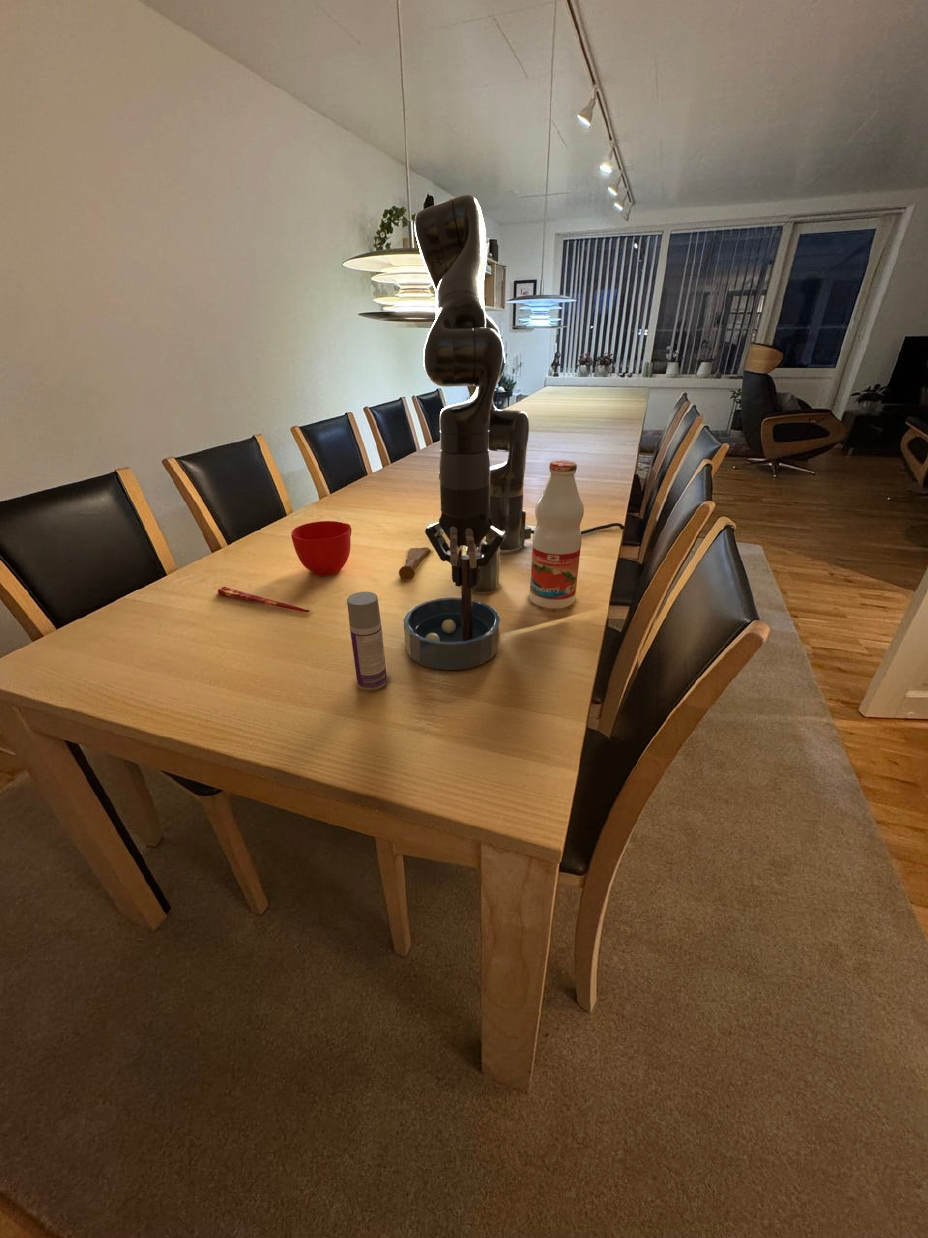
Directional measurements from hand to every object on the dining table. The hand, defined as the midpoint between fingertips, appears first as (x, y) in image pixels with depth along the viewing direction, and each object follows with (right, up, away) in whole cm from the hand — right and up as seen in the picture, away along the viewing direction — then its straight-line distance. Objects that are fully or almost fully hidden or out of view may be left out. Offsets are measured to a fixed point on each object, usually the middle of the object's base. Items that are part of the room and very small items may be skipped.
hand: (466, 585), depth 85 cm
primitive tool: (-13, +7, +39) cm, 42 cm away
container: (-15, -16, -3) cm, 22 cm away
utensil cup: (+4, +1, +27) cm, 28 cm away
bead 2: (-3, -7, +9) cm, 12 cm away
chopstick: (-42, -2, +22) cm, 47 cm away
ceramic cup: (-32, +6, +38) cm, 50 cm away
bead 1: (-6, -9, +4) cm, 12 cm away
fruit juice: (+18, -2, +22) cm, 28 cm away
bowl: (-2, -10, +6) cm, 12 cm away
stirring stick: (0, -9, +6) cm, 11 cm away
